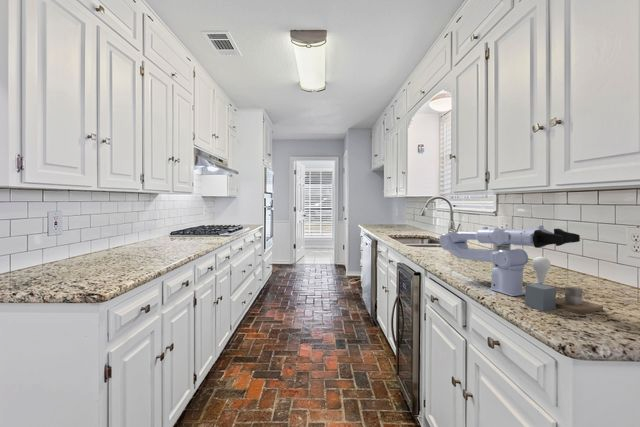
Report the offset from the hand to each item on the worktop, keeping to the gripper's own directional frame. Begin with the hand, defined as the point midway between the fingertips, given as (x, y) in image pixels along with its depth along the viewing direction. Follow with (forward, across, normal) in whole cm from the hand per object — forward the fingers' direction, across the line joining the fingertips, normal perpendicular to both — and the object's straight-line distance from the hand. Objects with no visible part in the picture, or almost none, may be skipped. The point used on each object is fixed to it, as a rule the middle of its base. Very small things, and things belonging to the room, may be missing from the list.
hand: (570, 238), depth 95 cm
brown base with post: (-3, +4, +22) cm, 22 cm away
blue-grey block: (-6, -6, +21) cm, 23 cm away
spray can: (-37, +15, +19) cm, 44 cm away
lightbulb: (-25, +22, +20) cm, 39 cm away
